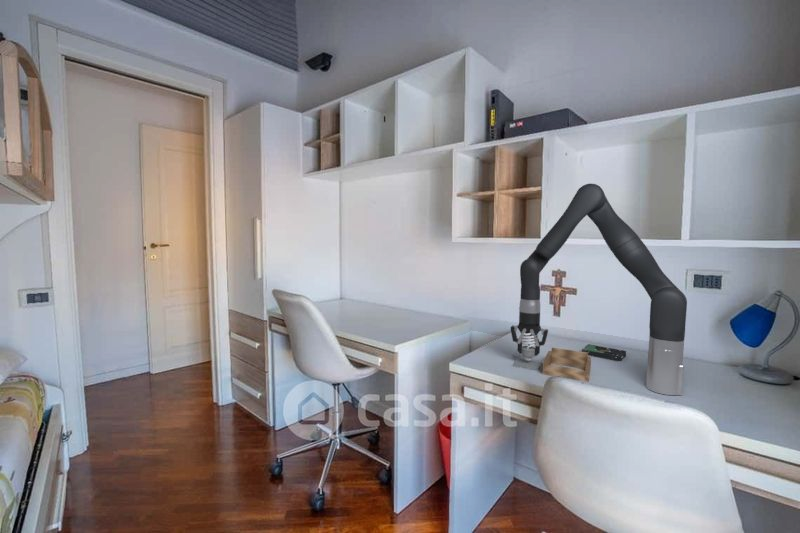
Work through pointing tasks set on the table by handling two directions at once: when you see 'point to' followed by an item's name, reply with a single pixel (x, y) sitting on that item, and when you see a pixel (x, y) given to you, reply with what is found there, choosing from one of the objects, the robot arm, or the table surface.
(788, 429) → the table surface
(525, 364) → the slate mat
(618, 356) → the disk drive
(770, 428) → the table surface
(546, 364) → the wooden frame
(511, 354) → the table surface
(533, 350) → the light bulb
